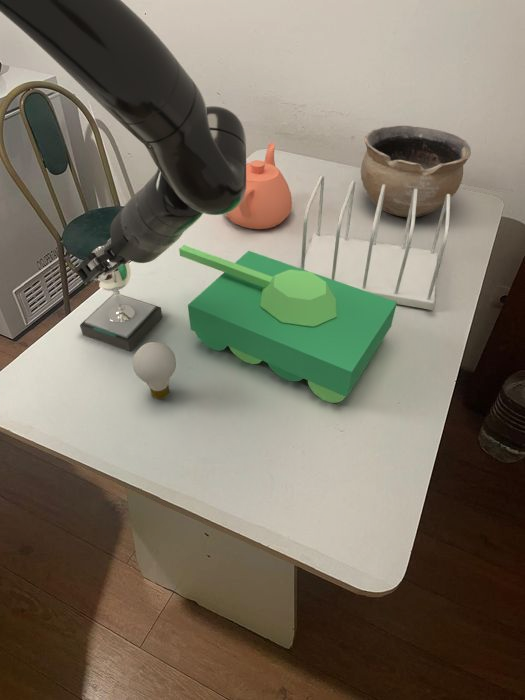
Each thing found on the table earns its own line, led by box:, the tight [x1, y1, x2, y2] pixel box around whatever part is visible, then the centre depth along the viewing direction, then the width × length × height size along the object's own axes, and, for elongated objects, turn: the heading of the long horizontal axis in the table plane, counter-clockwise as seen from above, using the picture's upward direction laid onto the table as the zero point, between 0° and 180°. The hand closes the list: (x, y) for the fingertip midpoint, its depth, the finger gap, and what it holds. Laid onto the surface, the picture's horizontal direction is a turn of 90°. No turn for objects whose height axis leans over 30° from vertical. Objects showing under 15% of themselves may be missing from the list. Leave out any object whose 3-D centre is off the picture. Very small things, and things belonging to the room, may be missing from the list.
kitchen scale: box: [79, 293, 163, 352], centre depth 87 cm, size 10×10×3 cm
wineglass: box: [91, 245, 135, 323], centre depth 82 cm, size 6×6×12 cm
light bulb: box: [132, 341, 177, 400], centre depth 73 cm, size 6×6×10 cm
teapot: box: [224, 142, 293, 230], centre depth 111 cm, size 22×15×12 cm
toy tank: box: [178, 244, 398, 404], centre depth 82 cm, size 18×12×35 cm
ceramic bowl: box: [360, 125, 472, 218], centre depth 113 cm, size 22×22×15 cm
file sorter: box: [299, 174, 451, 311], centre depth 94 cm, size 25×17×16 cm
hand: (108, 265), depth 79 cm, fingers open, 8 cm apart
